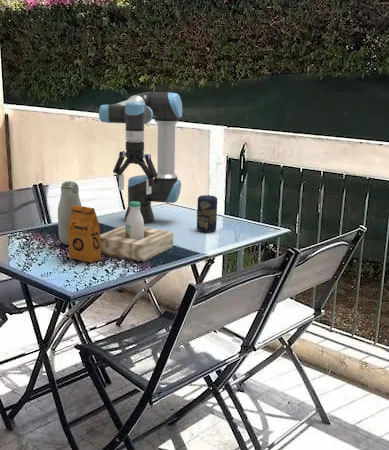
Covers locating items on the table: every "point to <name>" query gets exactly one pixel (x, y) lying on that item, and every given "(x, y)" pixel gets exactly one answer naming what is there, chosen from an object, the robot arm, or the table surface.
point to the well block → (136, 244)
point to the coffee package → (84, 234)
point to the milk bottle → (135, 222)
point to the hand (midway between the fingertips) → (135, 192)
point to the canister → (207, 213)
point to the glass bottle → (67, 208)
